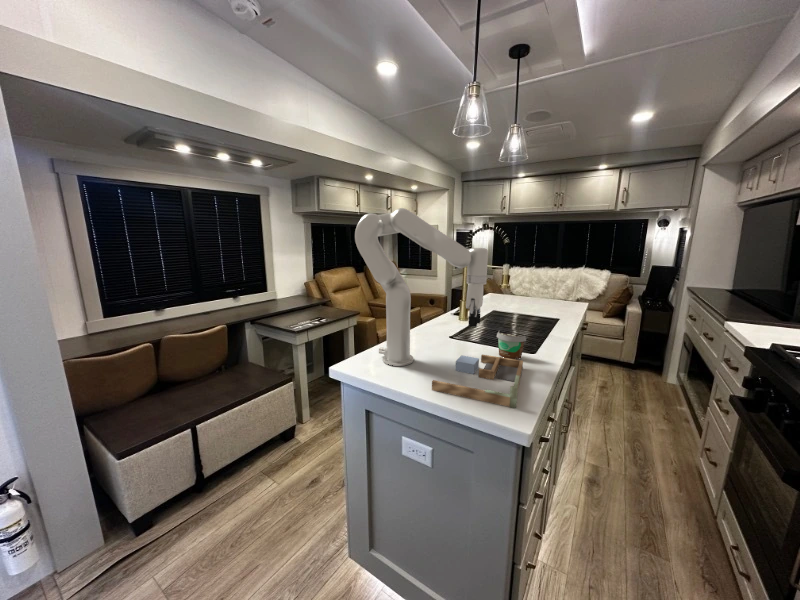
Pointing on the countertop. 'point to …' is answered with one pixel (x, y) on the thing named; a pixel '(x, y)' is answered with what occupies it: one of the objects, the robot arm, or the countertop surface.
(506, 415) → the countertop surface
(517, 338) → the food container
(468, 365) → the block
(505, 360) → the box
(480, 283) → the robot arm
